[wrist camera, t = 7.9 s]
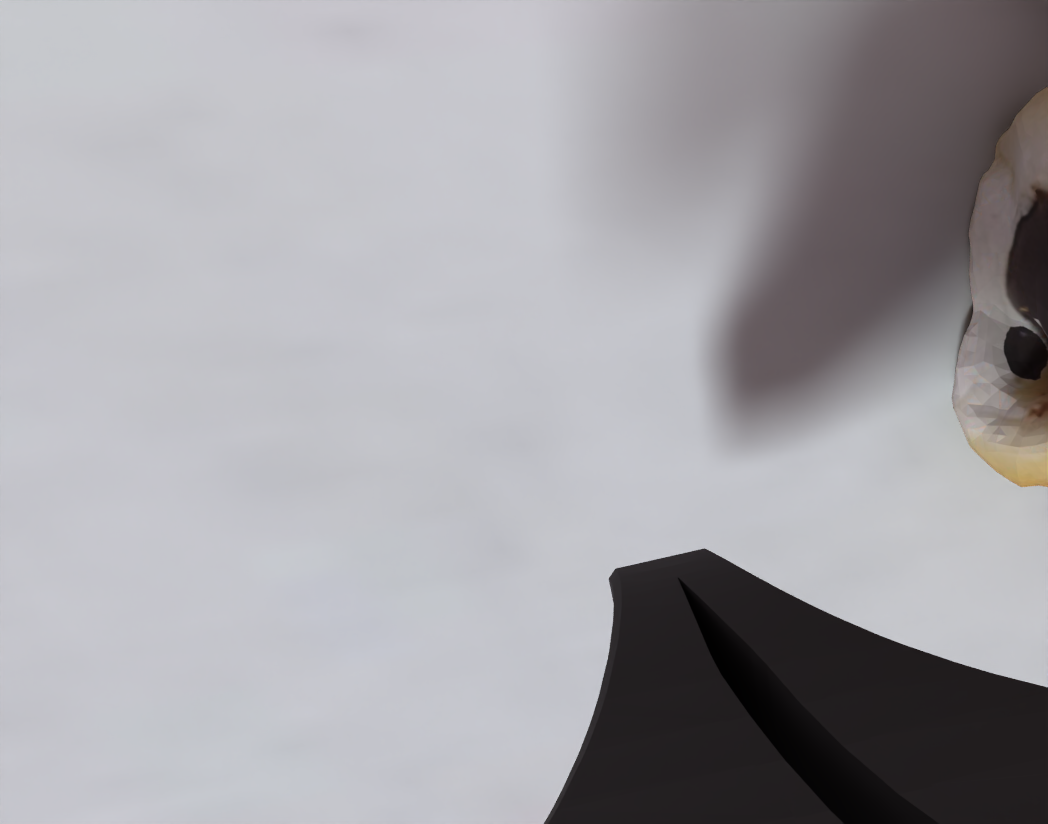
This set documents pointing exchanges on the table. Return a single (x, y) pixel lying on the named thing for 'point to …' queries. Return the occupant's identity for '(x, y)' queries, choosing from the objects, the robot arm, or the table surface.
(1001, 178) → the pastry
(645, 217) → the table surface
